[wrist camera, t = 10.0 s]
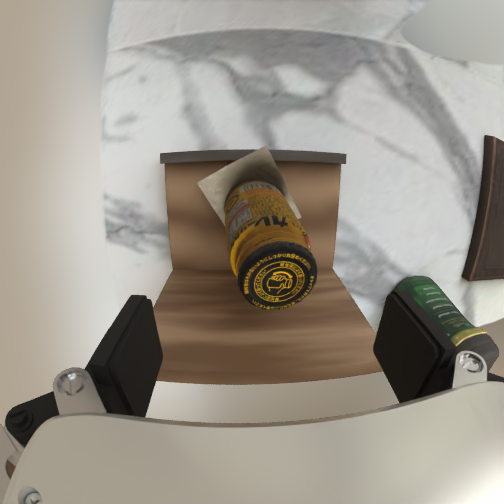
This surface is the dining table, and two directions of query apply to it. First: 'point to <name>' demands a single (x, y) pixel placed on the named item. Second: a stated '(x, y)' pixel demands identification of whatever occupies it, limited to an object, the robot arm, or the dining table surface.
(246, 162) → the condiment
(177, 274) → the rack
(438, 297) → the coffee jar
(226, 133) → the dining table surface
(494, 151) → the hardcover book
